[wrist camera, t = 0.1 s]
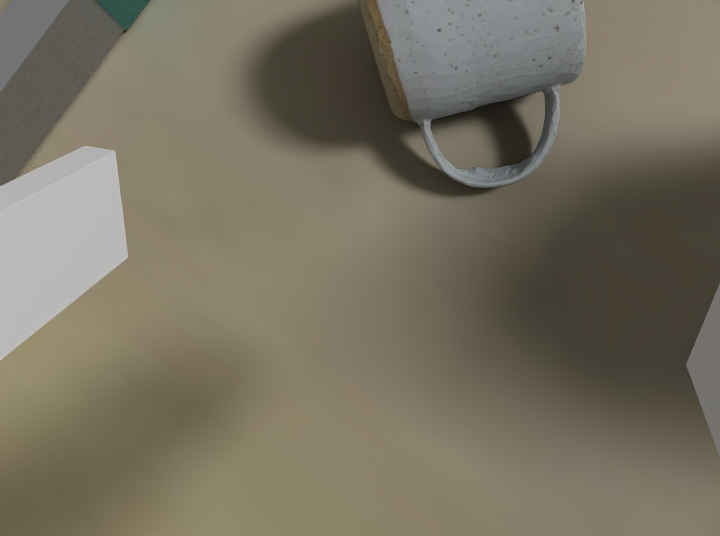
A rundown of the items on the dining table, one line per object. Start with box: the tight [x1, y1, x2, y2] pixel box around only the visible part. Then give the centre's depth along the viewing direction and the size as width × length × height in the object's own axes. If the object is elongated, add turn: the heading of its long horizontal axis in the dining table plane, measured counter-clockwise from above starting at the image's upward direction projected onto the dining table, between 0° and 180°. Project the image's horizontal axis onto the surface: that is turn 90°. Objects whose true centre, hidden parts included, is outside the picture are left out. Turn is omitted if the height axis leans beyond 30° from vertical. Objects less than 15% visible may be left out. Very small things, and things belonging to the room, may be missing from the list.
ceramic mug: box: [358, 0, 586, 188], centre depth 26 cm, size 11×8×8 cm
